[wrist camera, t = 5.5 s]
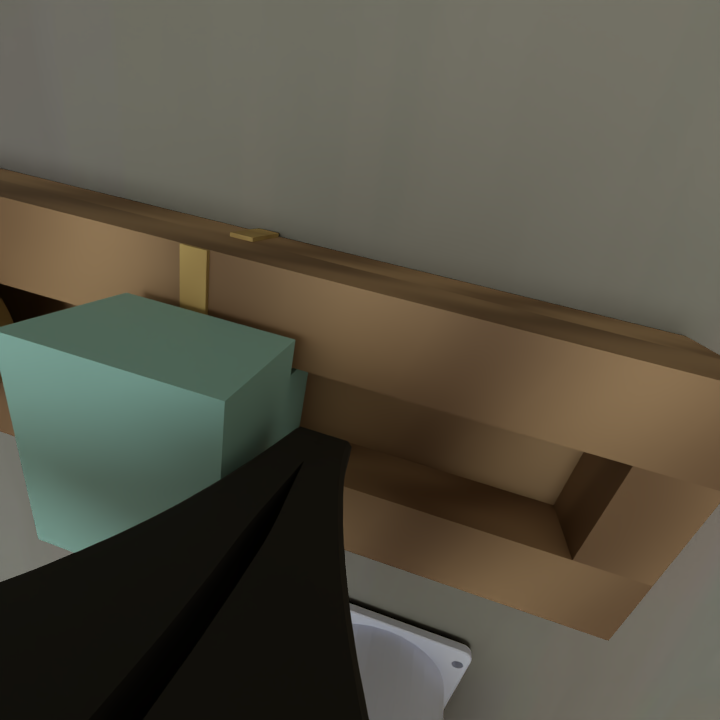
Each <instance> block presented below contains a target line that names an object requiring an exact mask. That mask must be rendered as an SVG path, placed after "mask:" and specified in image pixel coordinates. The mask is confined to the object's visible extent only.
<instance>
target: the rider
mask: <svg viewBox="0 0 720 720" xmlns="http://www.w3.org/2000/svg"><path fill="white" fill-rule="evenodd" d="M294 347H295V339H291V338H288V337H284V336H281V335H277V334H273V333H270V332H266V331H263V330H259V329H255V328H252V327H248V326H245V325H241V324H237V323H234V322H230V321H227V320H223V319H220V318H216V317H212V316H209V315H205V314H202V313H198V312H194V311H191V310H187V309H184V308H180V307H176V306H173V305H169V304H166V303H162V302H159V301H155V300H151V299H148V298H144V297H141V296H137V295H133V294H130V293H123V294H119V295H116V296H112V297H108V298H105V299H101V300H97V301H94V302H90V303H86V304H83V305H79V306H75V307H72V308H68V309H64V310H61V311H57V312H53V313H50V314H46V315H42V316H39V317H35V318H31V319H28V320H24V321H20V322H16V323H13V324H9V325H5V326H2V327H0V372H1V377H2V381H3V386H4V390H5V394H6V399H7V403H8V408H9V412H10V416H11V421H12V425H13V429H14V434H15V438H16V443H17V447H18V451H19V456H20V460H21V465H22V469H23V473H24V478H25V482H26V487H27V491H28V495H29V500H30V504H31V509H32V513H33V517H34V522H35V526H36V531H37V535H38V539H40V540H42V541H45V542H48V543H50V544H53V545H56V546H58V547H61V548H64V549H66V550H69V551H71V552H74V553H75V552H78V551H80V550H82V549H85V548H87V547H89V546H91V545H94V544H96V543H98V542H100V541H103V540H105V539H107V538H110V537H112V536H114V535H116V534H119V533H121V532H123V531H125V530H127V529H129V528H131V527H133V526H135V525H137V524H139V523H141V522H144V521H146V520H148V519H150V518H152V517H154V516H156V515H158V514H160V513H161V512H163V511H165V510H167V509H169V508H171V507H173V506H175V505H177V504H179V503H180V502H182V501H184V500H186V499H188V498H189V497H191V496H193V495H194V494H196V493H198V492H200V491H201V490H203V489H205V488H207V487H208V486H210V485H212V484H213V483H215V482H217V481H219V480H220V479H222V478H224V477H225V476H227V475H228V474H230V473H232V472H233V471H235V470H236V469H238V468H239V467H241V466H242V465H244V464H246V463H247V462H249V461H250V460H252V459H253V458H255V457H256V456H258V455H259V454H261V453H262V452H264V451H265V450H267V449H268V448H269V447H271V446H272V445H274V444H275V443H277V442H278V441H279V440H281V439H282V438H284V437H285V436H286V435H288V434H289V433H291V432H292V431H293V430H295V429H296V428H298V427H299V426H300V421H301V415H302V408H303V402H304V396H305V390H306V383H307V377H308V372H305V371H302V370H298V369H295V368H292V362H293V354H294Z"/></svg>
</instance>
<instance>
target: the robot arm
mask: <svg viewBox="0 0 720 720" xmlns="http://www.w3.org/2000/svg"><path fill="white" fill-rule="evenodd" d="M351 448H352V446H351V445H350V443H349V442H348V441H346V440H343V439H340V438H336V437H333V436H330V435H327V434H323V433H320V432H317V431H314V430H310V429H307V428H304V427H301V426H300V427H298V428H296V429H295V430H293V431H292V432H291V433H289V434H288V435H286V436H285V437H284V438H282V439H281V440H279V441H278V442H277V443H275V444H274V445H272V446H271V447H269V448H268V449H267V450H265V451H264V452H262V453H261V454H259V455H258V456H256V457H255V458H253V459H252V460H250V461H249V462H247V463H246V464H244V465H242V466H241V467H239V468H238V469H236V470H235V471H233V472H232V473H230V474H228V475H227V476H225V477H224V478H222V479H220V480H219V481H217V482H215V483H213V484H212V485H210V486H208V487H207V488H205V489H203V490H201V491H200V492H198V493H196V494H194V495H193V496H191V497H189V498H188V499H186V500H184V501H182V502H180V503H179V504H177V505H175V506H173V507H171V508H169V509H167V510H165V511H163V512H161V513H160V514H158V515H156V516H154V517H152V518H150V519H148V520H146V521H144V522H141V523H139V524H137V525H135V526H133V527H131V528H129V529H127V530H125V531H123V532H121V533H119V534H116V535H114V536H112V537H110V538H107V539H105V540H103V541H100V542H98V543H96V544H94V545H91V546H89V547H87V548H85V549H82V550H80V551H78V552H75V553H73V554H71V555H68V556H66V557H64V558H61V559H59V560H56V561H54V562H52V563H49V564H47V565H44V566H42V567H39V568H37V569H34V570H32V571H29V572H26V573H24V574H21V575H18V576H16V577H13V578H10V579H8V580H5V581H2V582H0V720H443V710H444V708H445V706H446V705H447V703H448V701H449V699H450V698H451V696H452V694H453V692H454V691H455V689H456V687H457V685H458V684H459V682H460V680H461V678H462V677H463V675H464V673H465V671H466V670H467V668H468V666H469V664H470V663H471V660H472V656H471V650H470V649H469V648H468V647H467V646H466V645H464V644H462V643H459V642H456V641H453V640H451V639H448V638H445V637H442V636H440V635H437V634H434V633H431V632H428V631H426V630H423V629H420V628H417V627H415V626H412V625H409V624H406V623H404V622H401V621H398V620H395V619H392V618H390V617H387V616H384V615H381V614H379V613H376V612H373V611H370V610H368V609H365V608H362V607H359V606H357V605H354V604H351V603H349V596H348V588H347V578H346V566H345V552H344V535H343V491H344V478H345V473H346V469H347V465H348V461H349V457H350V452H351Z"/></svg>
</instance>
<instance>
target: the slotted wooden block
mask: <svg viewBox="0 0 720 720" xmlns="http://www.w3.org/2000/svg"><path fill="white" fill-rule="evenodd" d="M123 293H130V294H133V295H137V296H141V297H144V298H148V299H151V300H155V301H159V302H162V303H166V304H169V305H173V306H176V307H180V308H184V309H187V310H191V311H194V312H198V313H202V314H205V315H209V316H212V317H216V318H220V319H223V320H227V321H230V322H234V323H237V324H241V325H245V326H248V327H252V328H255V329H259V330H263V331H266V332H270V333H273V334H277V335H281V336H284V337H288V338H291V339H295V347H294V354H293V362H292V368H295V369H298V370H302V371H305V372H308V377H307V383H306V390H305V396H304V402H303V408H302V415H301V421H300V426H301V427H304V428H307V429H310V430H314V431H317V432H320V433H323V434H327V435H330V436H333V437H336V438H340V439H343V440H346V441H348V442H349V443H350V445H351V446H352V448H351V452H350V457H349V461H348V465H347V469H346V473H345V478H344V491H343V535H344V550H347V551H349V552H352V553H355V554H358V555H361V556H364V557H367V558H370V559H373V560H376V561H379V562H381V563H384V564H387V565H390V566H393V567H396V568H399V569H402V570H405V571H408V572H411V573H413V574H416V575H419V576H422V577H425V578H428V579H431V580H434V581H437V582H440V583H442V584H445V585H448V586H451V587H454V588H457V589H460V590H463V591H466V592H469V593H472V594H474V595H477V596H480V597H483V598H486V599H489V600H492V601H495V602H498V603H501V604H503V605H506V606H509V607H512V608H515V609H518V610H521V611H524V612H527V613H530V614H533V615H535V616H538V617H541V618H544V619H547V620H550V621H553V622H556V623H559V624H562V625H564V626H567V627H570V628H573V629H576V630H579V631H582V632H585V633H588V634H591V635H594V636H596V637H599V638H602V639H605V640H609V639H610V638H611V637H612V636H613V634H614V633H615V632H616V631H617V629H618V628H619V627H620V626H621V624H622V623H623V622H624V621H625V619H626V618H627V617H628V616H629V615H630V613H631V612H632V611H633V610H634V608H635V607H636V606H637V605H638V603H639V602H640V601H641V600H642V599H643V597H644V596H645V595H646V594H647V592H648V591H649V590H650V589H651V587H652V586H653V585H654V584H655V582H656V581H657V580H658V579H659V578H660V576H661V575H662V574H663V573H664V571H665V570H666V569H667V568H668V566H669V565H670V564H671V563H672V562H673V560H674V559H675V558H676V557H677V555H678V554H679V553H680V552H681V550H682V549H683V548H684V547H685V545H686V544H687V543H688V542H689V541H690V539H691V538H692V537H693V536H694V534H695V533H696V532H697V531H698V529H699V528H700V527H701V526H702V525H703V523H704V522H705V521H706V520H707V518H708V517H709V516H710V515H711V513H712V512H713V511H714V510H715V508H716V507H717V506H718V505H719V504H720V355H718V354H716V353H715V352H713V351H711V350H709V349H708V348H706V347H704V346H702V345H700V344H699V343H697V342H695V341H693V340H691V339H690V338H688V337H686V336H682V335H678V334H674V333H670V332H666V331H662V330H658V329H654V328H650V327H646V326H642V325H637V324H633V323H629V322H625V321H621V320H617V319H613V318H609V317H605V316H601V315H597V314H593V313H589V312H584V311H580V310H576V309H572V308H568V307H564V306H560V305H556V304H552V303H548V302H544V301H540V300H536V299H531V298H527V297H523V296H519V295H515V294H511V293H507V292H503V291H499V290H495V289H491V288H487V287H482V286H478V285H474V284H470V283H466V282H462V281H458V280H454V279H450V278H446V277H442V276H438V275H434V274H429V273H425V272H421V271H417V270H413V269H409V268H405V267H401V266H397V265H393V264H389V263H385V262H381V261H376V260H372V259H368V258H364V257H360V256H356V255H352V254H348V253H344V252H340V251H336V250H332V249H328V248H323V247H319V246H315V245H311V244H307V243H303V242H299V241H295V240H291V239H287V238H283V237H279V233H276V232H272V231H268V230H263V229H259V228H258V229H246V228H242V227H238V226H234V225H230V224H226V223H221V222H217V221H213V220H209V219H205V218H201V217H197V216H193V215H189V214H185V213H181V212H177V211H173V210H168V209H164V208H160V207H156V206H152V205H148V204H144V203H140V202H136V201H132V200H128V199H124V198H120V197H115V196H111V195H107V194H103V193H99V192H95V191H91V190H87V189H83V188H79V187H75V186H71V185H66V184H62V183H58V182H54V181H50V180H46V179H42V178H38V177H34V176H30V175H26V174H22V173H18V172H13V171H9V170H5V169H1V168H0V327H2V326H5V325H9V324H13V323H16V322H20V321H24V320H28V319H31V318H35V317H39V316H42V315H46V314H50V313H53V312H57V311H61V310H64V309H68V308H72V307H75V306H79V305H83V304H86V303H90V302H94V301H97V300H101V299H105V298H108V297H112V296H116V295H119V294H123ZM300 426H299V427H300ZM0 431H1V432H4V433H7V434H10V435H12V436H15V434H14V429H13V425H12V421H11V416H10V412H9V408H8V403H7V399H6V394H5V390H4V386H3V381H2V377H1V372H0Z"/></svg>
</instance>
